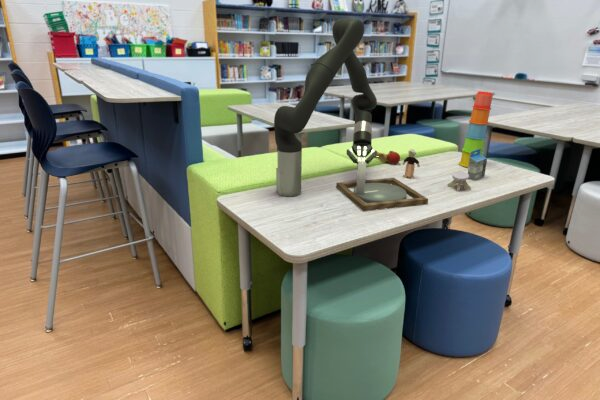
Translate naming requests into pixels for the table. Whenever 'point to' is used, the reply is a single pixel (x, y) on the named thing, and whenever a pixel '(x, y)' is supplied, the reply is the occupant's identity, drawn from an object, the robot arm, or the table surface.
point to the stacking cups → (477, 126)
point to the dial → (376, 189)
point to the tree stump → (460, 180)
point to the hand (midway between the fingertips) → (360, 171)
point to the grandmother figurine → (410, 164)
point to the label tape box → (476, 165)
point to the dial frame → (416, 200)
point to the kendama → (389, 157)
